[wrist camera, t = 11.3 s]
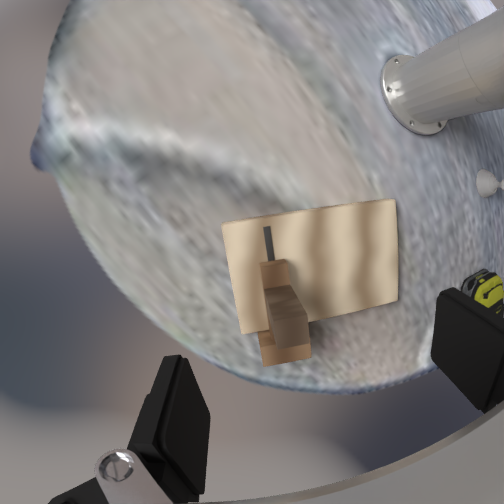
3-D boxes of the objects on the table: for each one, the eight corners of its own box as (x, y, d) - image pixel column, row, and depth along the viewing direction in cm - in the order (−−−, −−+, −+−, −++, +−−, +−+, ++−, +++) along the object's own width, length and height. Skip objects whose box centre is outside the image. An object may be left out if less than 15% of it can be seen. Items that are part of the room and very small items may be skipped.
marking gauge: (293, 252, 35) (322, 284, 24) (302, 338, 38) (327, 392, 26) (245, 261, 35) (251, 297, 23) (260, 346, 38) (270, 404, 26)
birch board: (387, 198, 35) (395, 199, 33) (390, 295, 38) (397, 300, 36) (221, 222, 34) (221, 225, 32) (241, 327, 37) (241, 334, 35)
